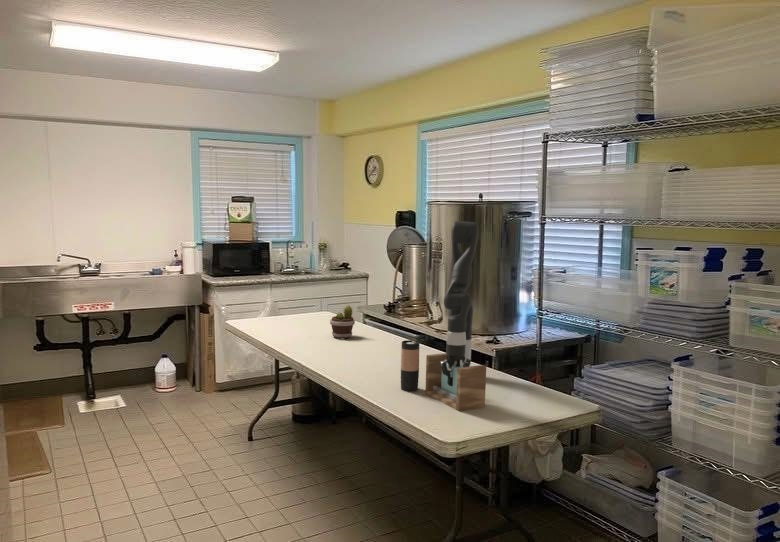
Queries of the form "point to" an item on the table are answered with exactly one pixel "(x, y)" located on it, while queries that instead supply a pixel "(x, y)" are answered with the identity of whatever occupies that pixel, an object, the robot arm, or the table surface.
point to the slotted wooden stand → (468, 384)
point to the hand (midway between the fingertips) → (454, 384)
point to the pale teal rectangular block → (445, 379)
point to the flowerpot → (343, 324)
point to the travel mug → (409, 365)
